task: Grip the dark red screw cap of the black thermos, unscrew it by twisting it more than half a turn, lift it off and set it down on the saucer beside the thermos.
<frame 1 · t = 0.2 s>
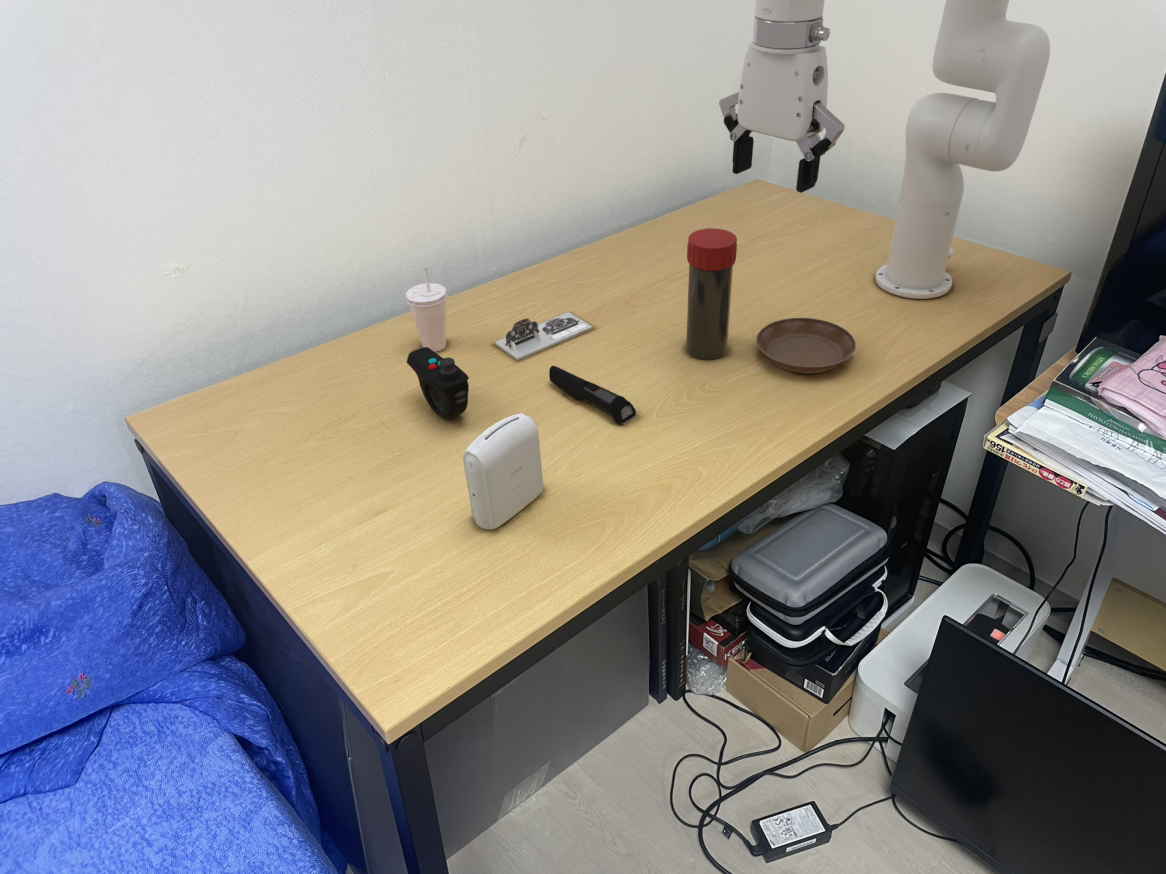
hand: (772, 179, 109), 31 cm above the table, tool pointing down, fingers open, 9 cm apart
controller: (444, 411, 126), on the table
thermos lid: (712, 241, 126), point 18 cm above the table, screwed on, not yet turned
saucer: (803, 356, 134), on the table
photo printer: (508, 507, 109), on the table
thermos: (706, 349, 137), on the table
electric trimmer: (590, 403, 127), on the table
smoothie: (434, 346, 141), on the table
car cutout: (544, 337, 142), on the table
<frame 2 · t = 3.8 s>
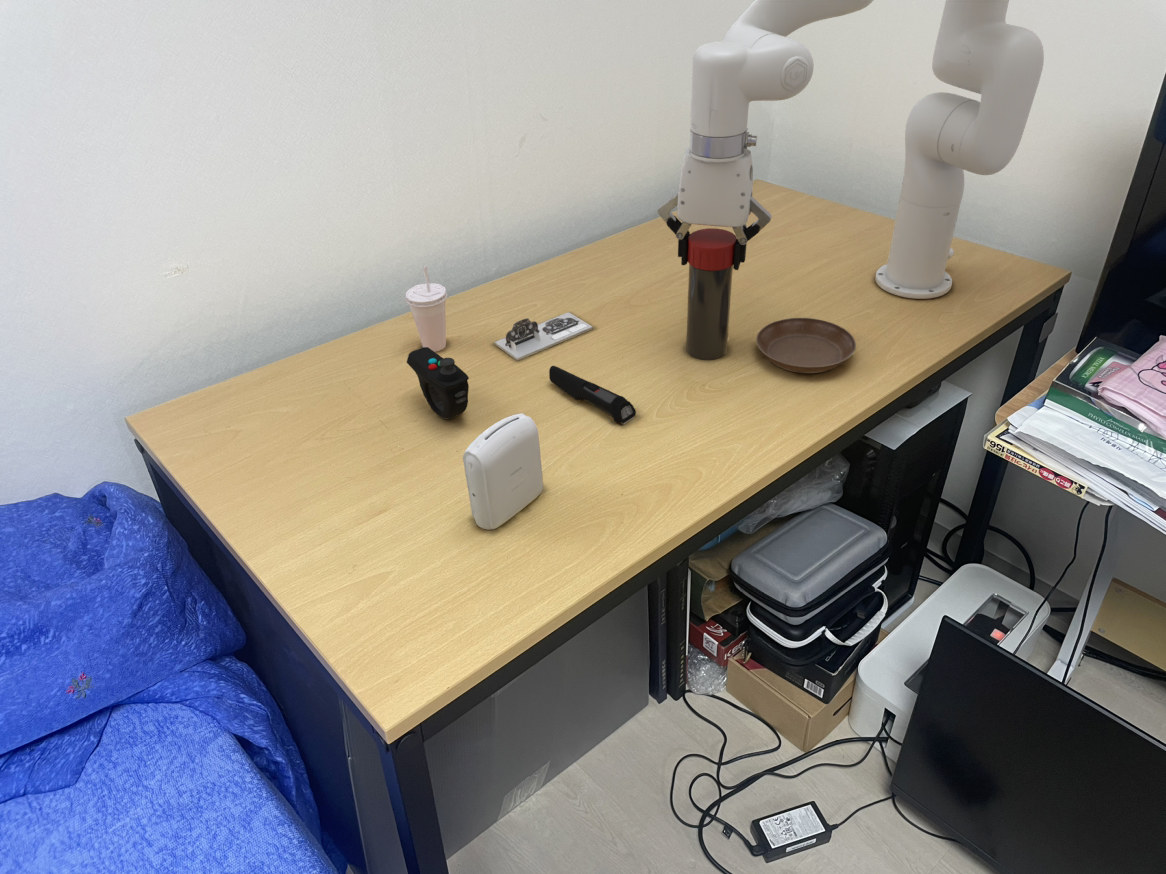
hand: (711, 262, 128), 15 cm above the table, tool pointing down, fingers closed on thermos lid, 7 cm apart
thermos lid: (712, 241, 126), point 18 cm above the table, screwed on, not yet turned, touching gripper
everything else where it was.
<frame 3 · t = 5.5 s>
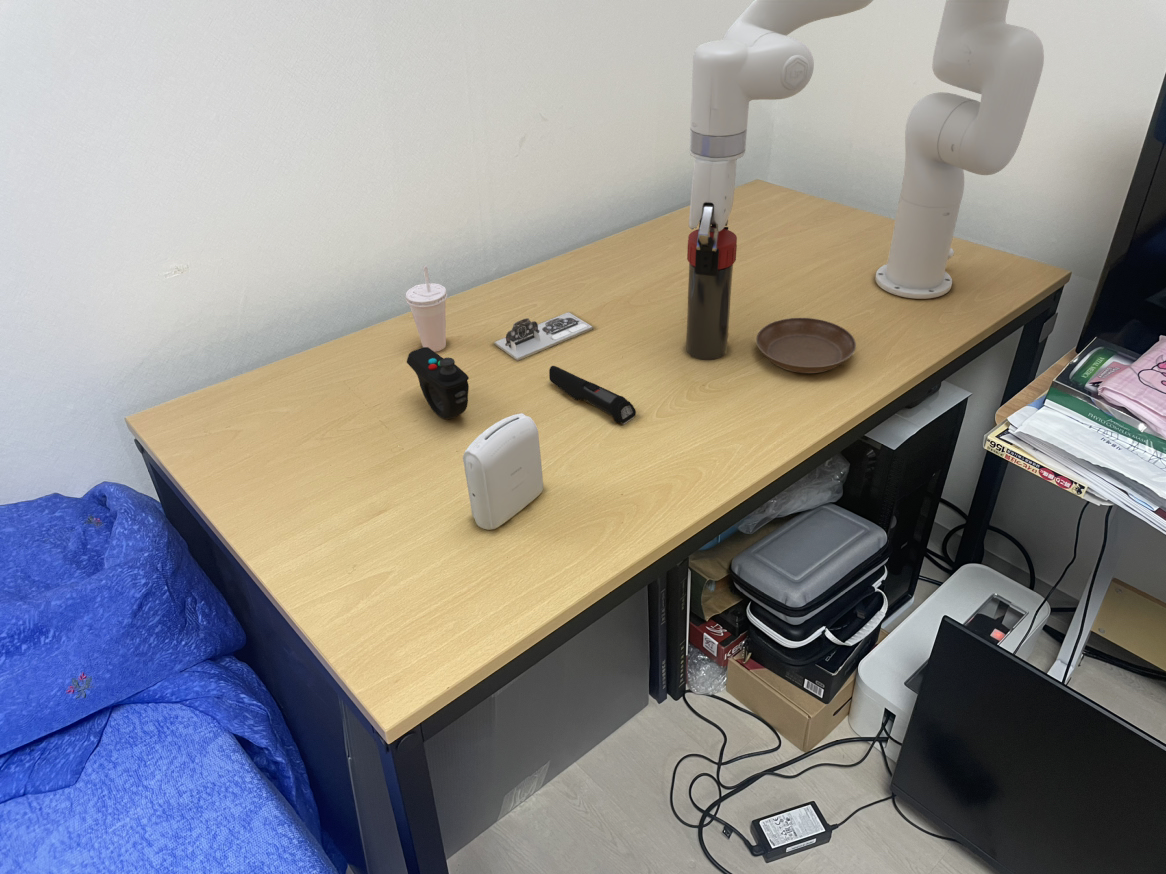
hand: (711, 262, 128), 15 cm above the table, tool pointing down, fingers closed on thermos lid, 7 cm apart
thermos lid: (712, 240, 126), point 18 cm above the table, turned 89° so far, risen 0.1 cm, still on its thread, touching gripper
everything else where it was.
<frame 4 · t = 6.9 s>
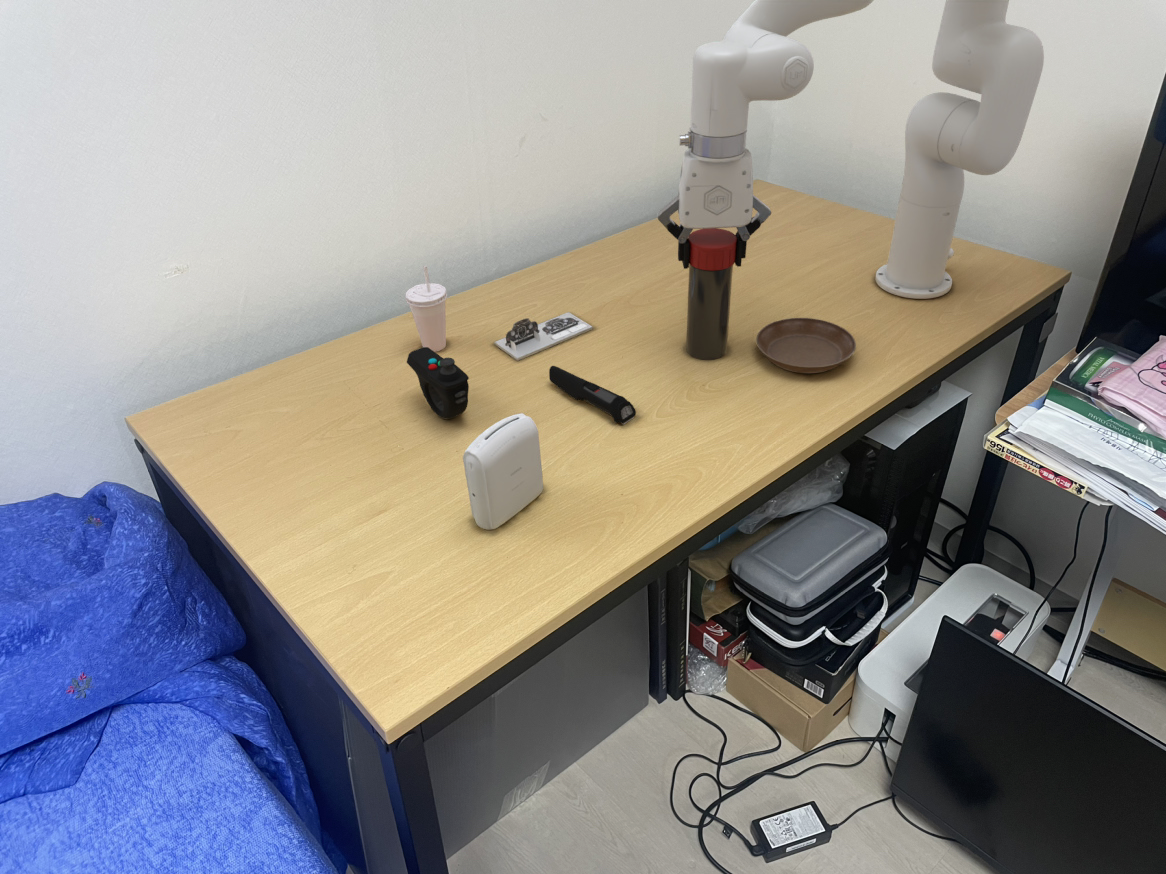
hand: (711, 262, 128), 15 cm above the table, tool pointing down, fingers closed on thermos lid, 7 cm apart
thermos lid: (712, 241, 126), point 18 cm above the table, off its thread, touching gripper
everything else where it was.
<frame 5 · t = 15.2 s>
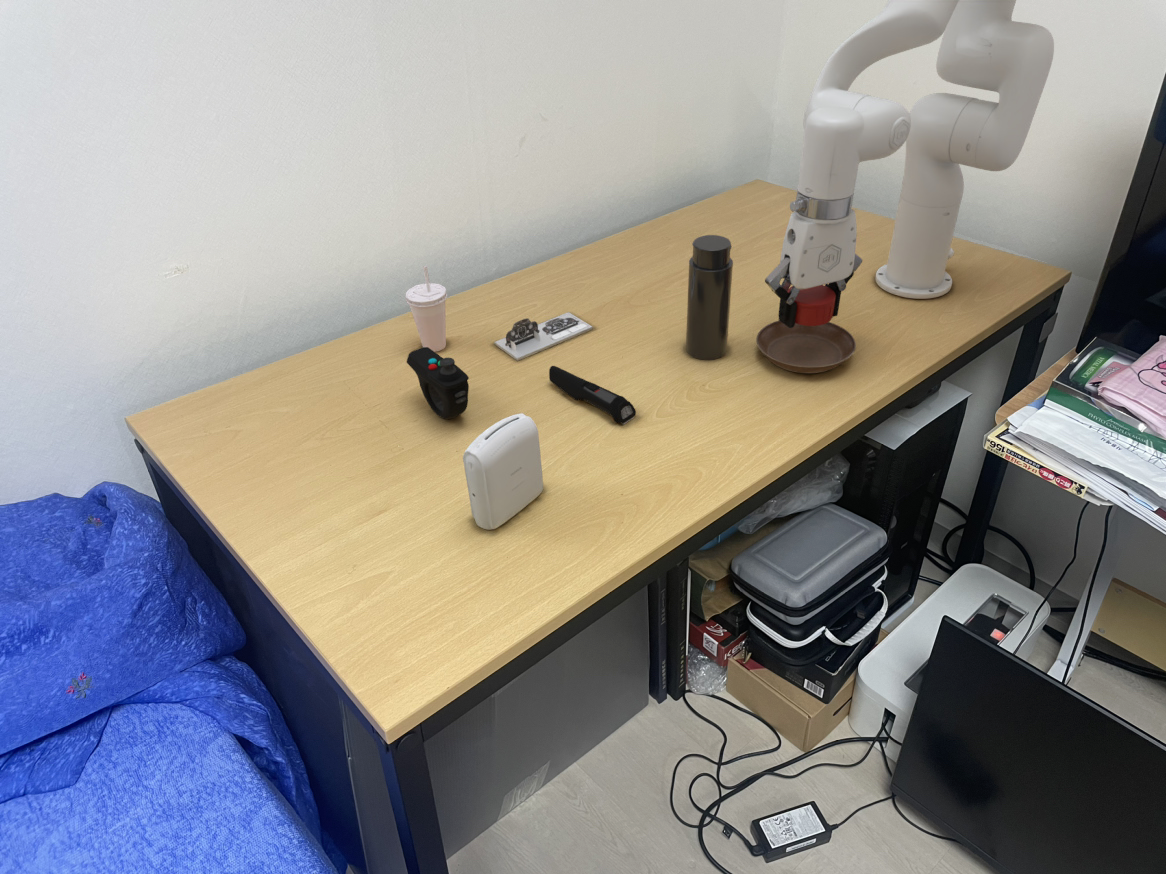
hand: (807, 317, 130), 7 cm above the table, tool pointing down, fingers closed on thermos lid, 7 cm apart
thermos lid: (810, 297, 128), point 10 cm above the table, off its thread, touching gripper
everything else where it was.
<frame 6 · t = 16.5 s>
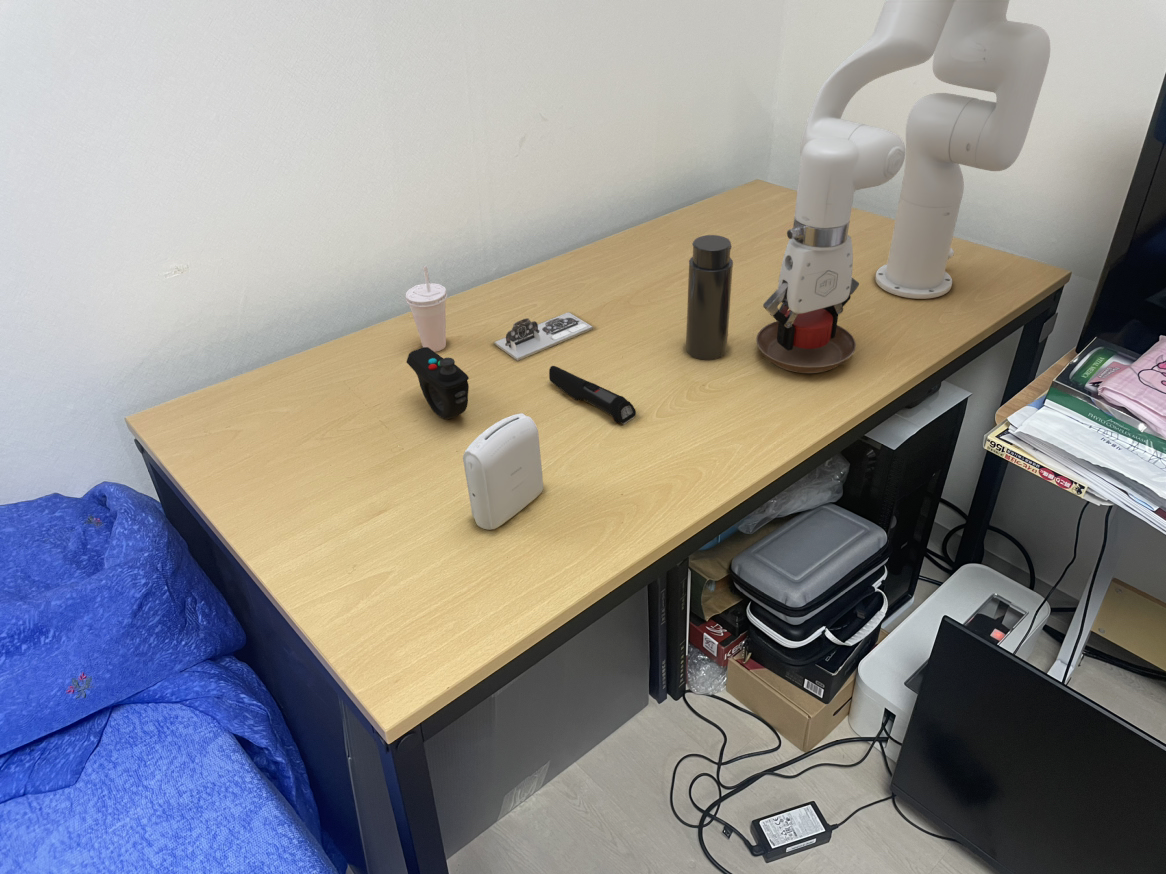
hand: (805, 339, 133), 3 cm above the table, tool pointing down, fingers closed on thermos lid, 7 cm apart
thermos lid: (808, 320, 131), point 6 cm above the table, off its thread, touching gripper
everything else where it was.
when the fingers open (4 cm above the table, at t = 26.6 s): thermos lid drops 2 cm, resting on saucer.
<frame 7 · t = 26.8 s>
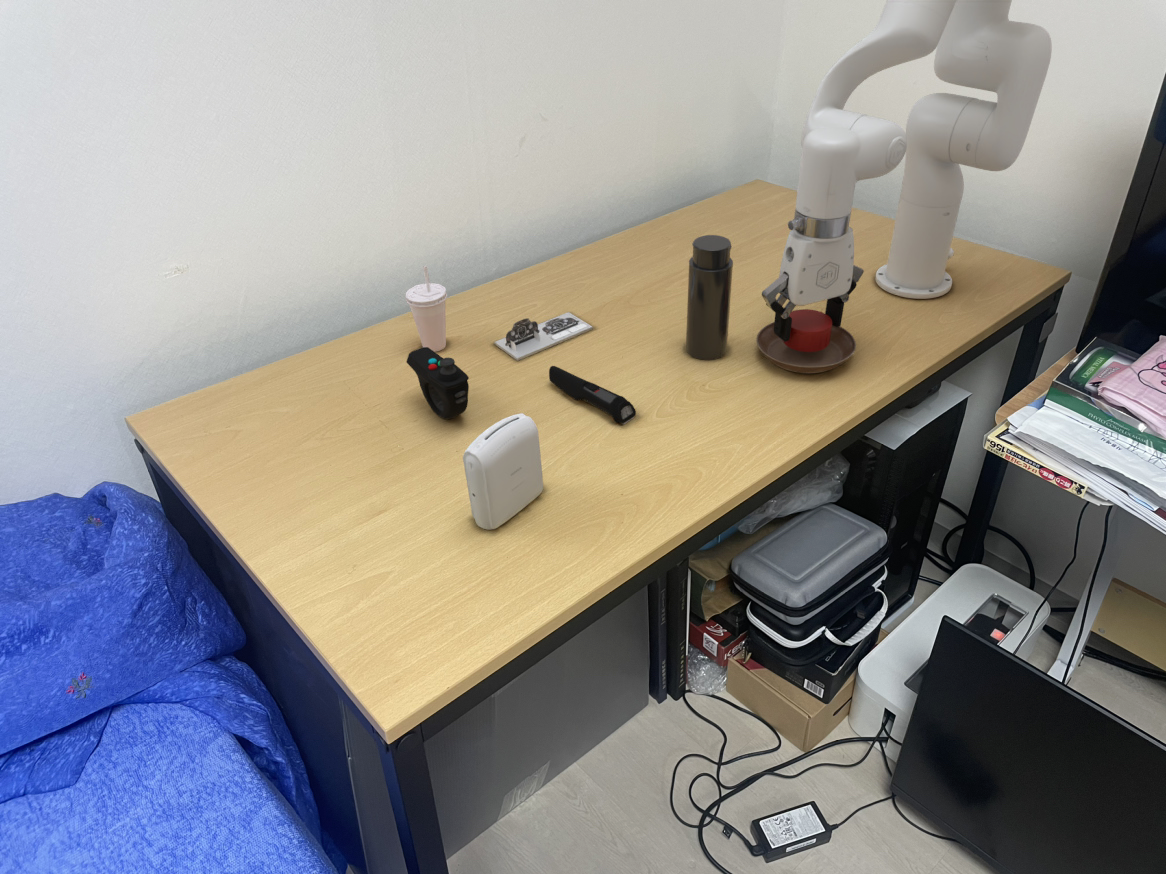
hand: (807, 329, 132), 5 cm above the table, tool pointing down, fingers open, 8 cm apart
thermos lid: (807, 323, 131), point 6 cm above the table, off its thread, touching saucer
saucer: (803, 356, 134), on the table, touching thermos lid
everything else where it was.
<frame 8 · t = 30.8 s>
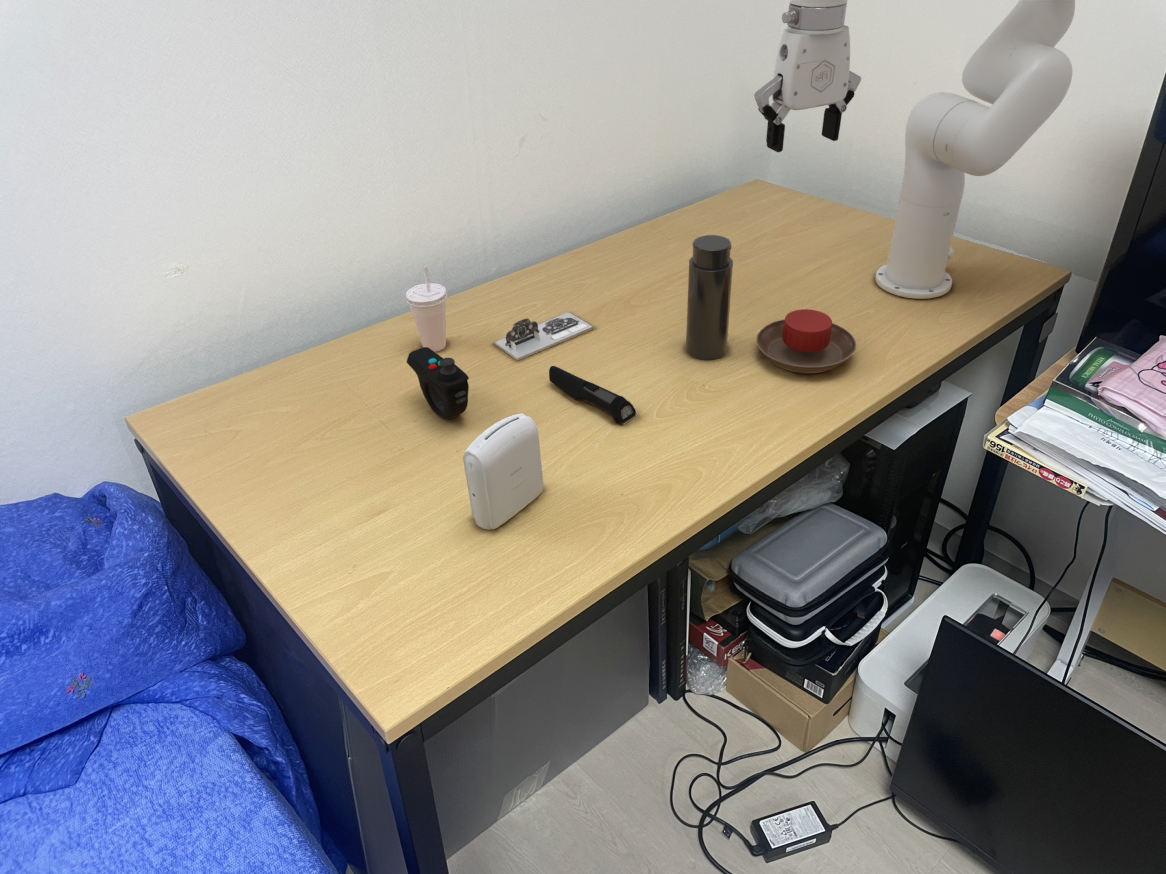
hand: (802, 143, 128), 28 cm above the table, tool pointing down, fingers open, 9 cm apart
nothing on the table moved.
at the end: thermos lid 0.0 cm from the saucer (horizontally); the gripper is holding nothing; thermos tilted 0° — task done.
